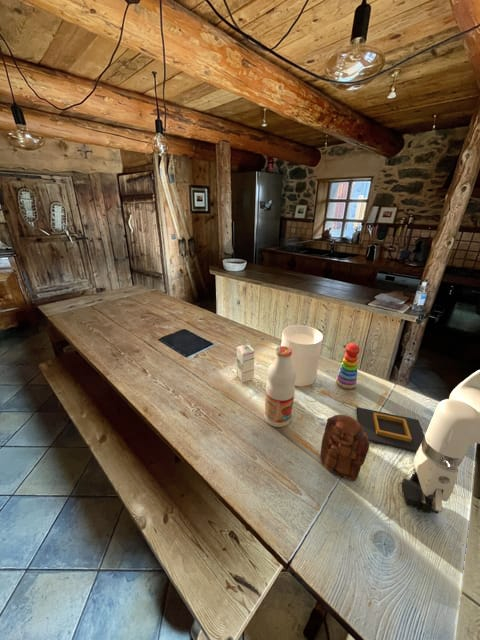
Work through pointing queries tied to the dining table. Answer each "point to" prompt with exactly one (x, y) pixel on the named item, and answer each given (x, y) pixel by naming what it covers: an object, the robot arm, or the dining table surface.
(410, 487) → the black pad
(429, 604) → the dining table surface
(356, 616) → the dining table surface
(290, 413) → the fruit juice
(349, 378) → the stacking toy
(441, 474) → the robot arm
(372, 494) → the dining table surface
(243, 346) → the syrup box
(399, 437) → the base pad
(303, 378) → the canister
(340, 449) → the wooden figurine
